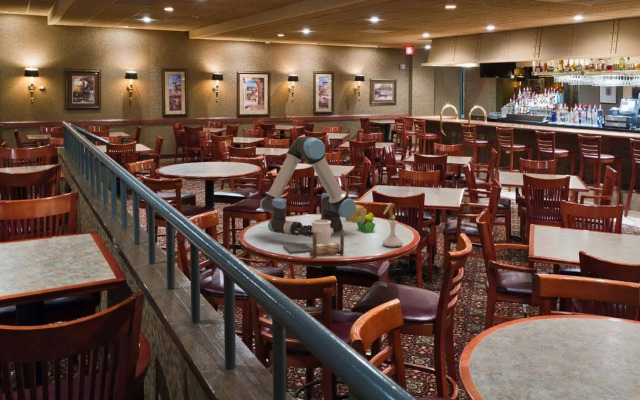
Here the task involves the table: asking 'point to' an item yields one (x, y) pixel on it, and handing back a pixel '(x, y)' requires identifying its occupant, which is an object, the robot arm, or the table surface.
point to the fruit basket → (367, 223)
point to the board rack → (327, 247)
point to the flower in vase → (392, 238)
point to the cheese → (358, 214)
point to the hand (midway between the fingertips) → (327, 232)
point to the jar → (322, 230)
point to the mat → (297, 248)
